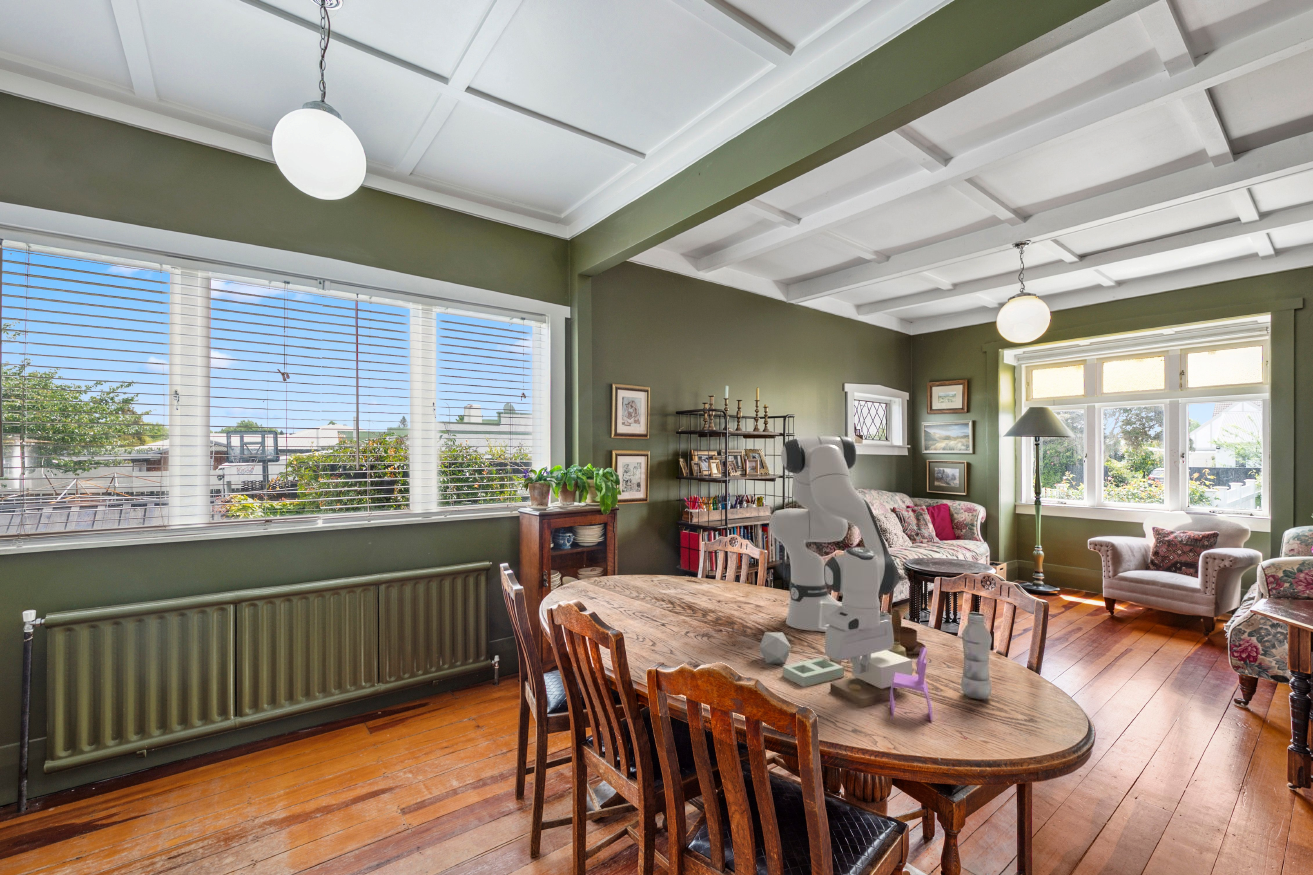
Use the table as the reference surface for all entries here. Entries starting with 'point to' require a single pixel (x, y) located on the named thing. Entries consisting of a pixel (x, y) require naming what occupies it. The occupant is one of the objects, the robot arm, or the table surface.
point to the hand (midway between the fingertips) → (860, 672)
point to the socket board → (813, 671)
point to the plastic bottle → (976, 658)
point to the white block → (884, 668)
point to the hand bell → (897, 634)
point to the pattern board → (861, 691)
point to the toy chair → (913, 682)
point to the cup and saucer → (910, 640)
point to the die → (774, 647)
